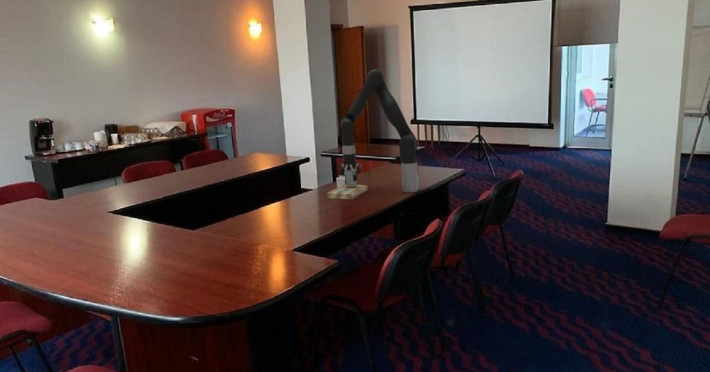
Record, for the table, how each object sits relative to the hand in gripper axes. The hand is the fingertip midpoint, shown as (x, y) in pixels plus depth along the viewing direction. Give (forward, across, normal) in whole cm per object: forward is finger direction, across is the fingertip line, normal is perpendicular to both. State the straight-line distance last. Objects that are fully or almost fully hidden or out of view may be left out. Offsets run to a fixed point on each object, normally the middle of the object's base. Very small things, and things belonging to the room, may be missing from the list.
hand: (351, 180), depth 335 cm
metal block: (+3, 0, 0) cm, 3 cm away
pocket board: (+8, 0, +5) cm, 10 cm away
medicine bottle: (+8, +10, -12) cm, 17 cm away
